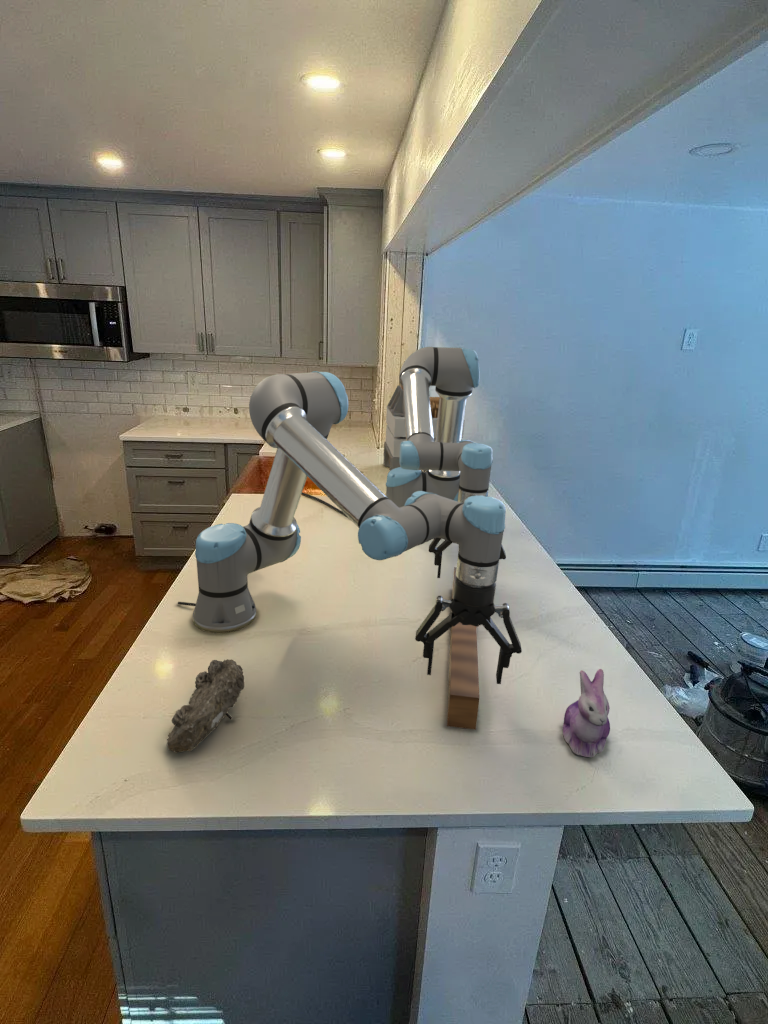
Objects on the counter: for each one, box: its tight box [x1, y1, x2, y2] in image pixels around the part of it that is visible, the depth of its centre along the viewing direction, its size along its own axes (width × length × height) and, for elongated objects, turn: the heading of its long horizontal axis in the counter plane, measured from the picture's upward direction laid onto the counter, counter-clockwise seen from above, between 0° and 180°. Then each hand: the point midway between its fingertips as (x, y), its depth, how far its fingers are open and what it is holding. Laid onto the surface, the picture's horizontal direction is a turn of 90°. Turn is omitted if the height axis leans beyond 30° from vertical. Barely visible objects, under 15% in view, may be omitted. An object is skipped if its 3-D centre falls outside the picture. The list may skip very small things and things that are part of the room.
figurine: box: [562, 668, 611, 758], centre depth 104 cm, size 9×10×15 cm
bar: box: [446, 566, 481, 731], centre depth 133 cm, size 56×6×7 cm, turn 173°
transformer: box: [383, 384, 465, 471], centre depth 268 cm, size 34×33×41 cm
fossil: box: [166, 658, 245, 754], centre depth 106 cm, size 22×10×15 cm
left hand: (463, 675), depth 112 cm, fingers open, 13 cm apart
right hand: (464, 578), depth 153 cm, fingers open, 13 cm apart
